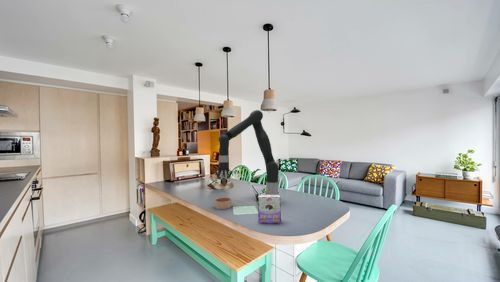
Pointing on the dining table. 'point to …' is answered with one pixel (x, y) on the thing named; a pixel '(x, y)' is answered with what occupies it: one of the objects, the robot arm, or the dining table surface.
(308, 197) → the dining table surface
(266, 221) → the candy box
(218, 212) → the dining table surface
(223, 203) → the bowl
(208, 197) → the dining table surface
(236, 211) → the mat
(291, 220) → the dining table surface
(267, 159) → the robot arm
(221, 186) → the lid
